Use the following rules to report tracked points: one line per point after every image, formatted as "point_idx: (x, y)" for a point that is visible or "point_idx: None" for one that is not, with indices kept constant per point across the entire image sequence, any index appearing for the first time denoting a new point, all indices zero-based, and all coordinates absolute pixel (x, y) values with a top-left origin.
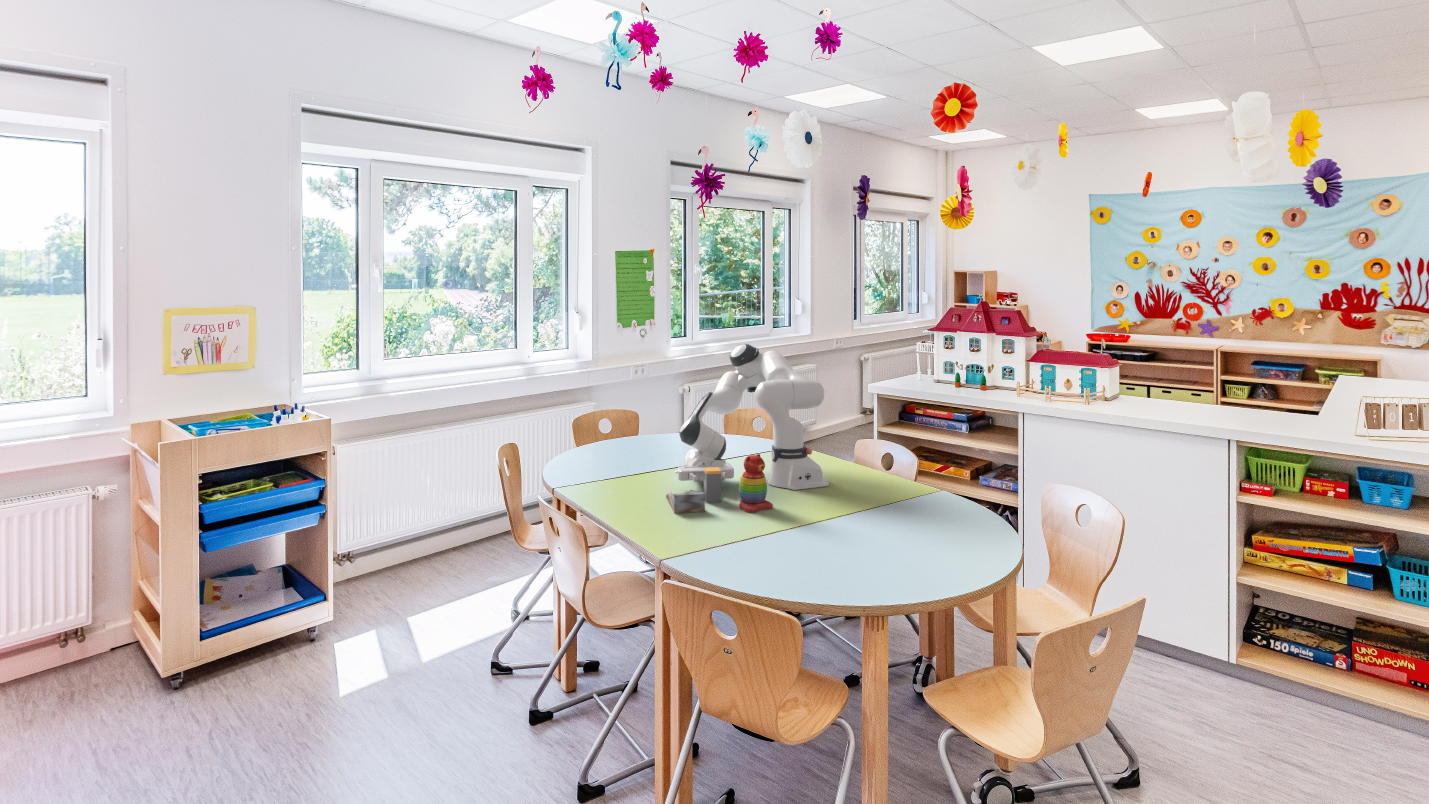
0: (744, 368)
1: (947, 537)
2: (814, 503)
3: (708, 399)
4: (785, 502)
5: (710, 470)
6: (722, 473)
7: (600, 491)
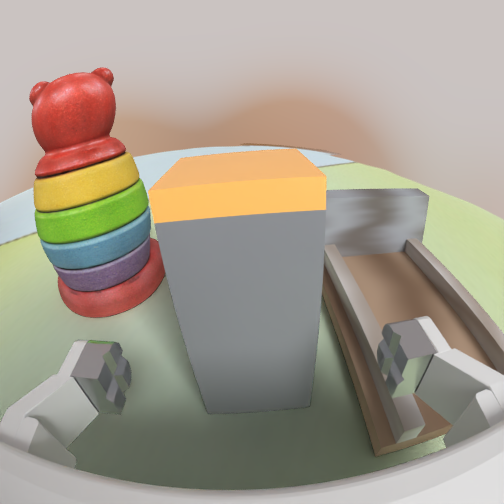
0: None
1: (10, 207)
2: None
3: None
4: (5, 305)
5: (263, 154)
6: (41, 426)
7: None
